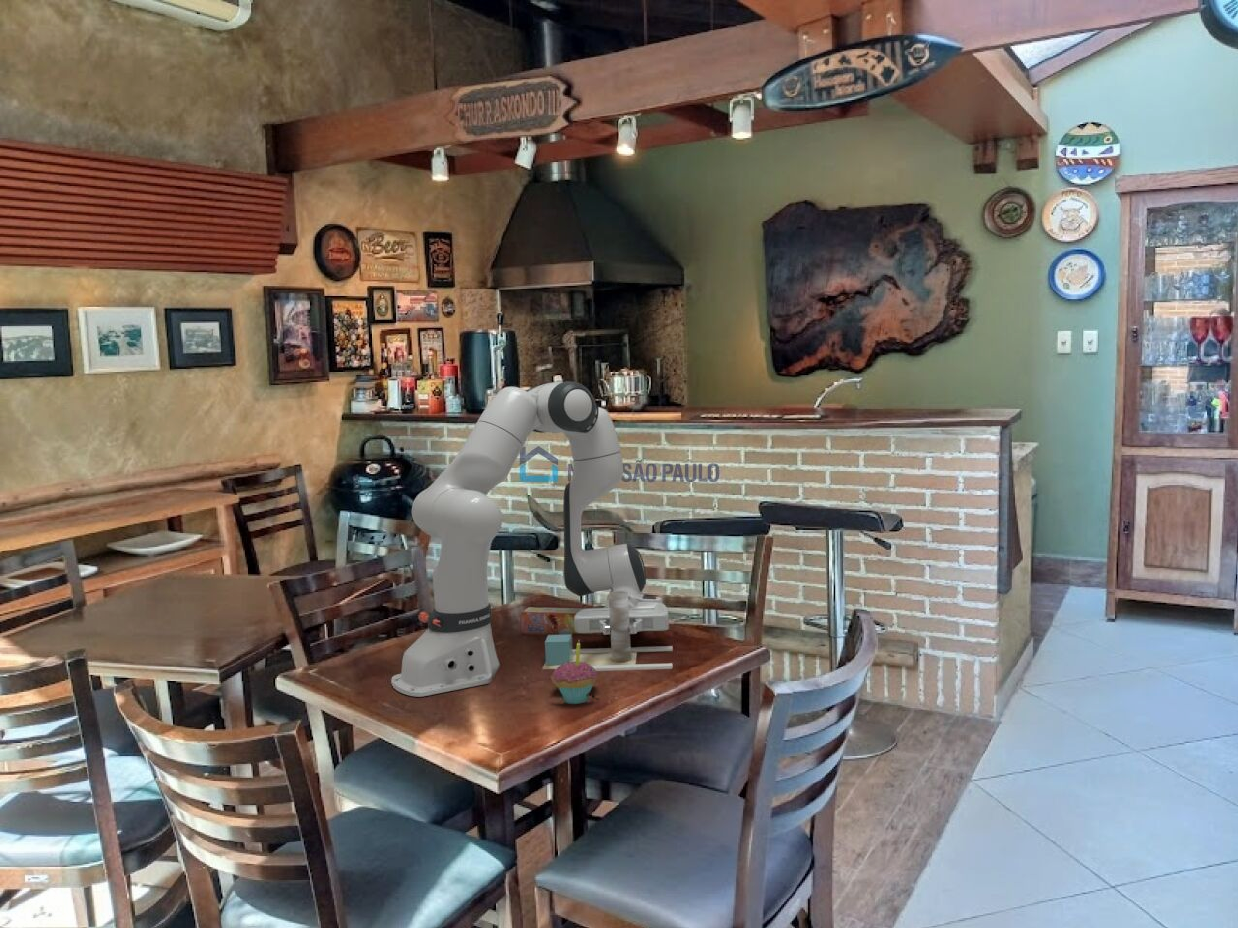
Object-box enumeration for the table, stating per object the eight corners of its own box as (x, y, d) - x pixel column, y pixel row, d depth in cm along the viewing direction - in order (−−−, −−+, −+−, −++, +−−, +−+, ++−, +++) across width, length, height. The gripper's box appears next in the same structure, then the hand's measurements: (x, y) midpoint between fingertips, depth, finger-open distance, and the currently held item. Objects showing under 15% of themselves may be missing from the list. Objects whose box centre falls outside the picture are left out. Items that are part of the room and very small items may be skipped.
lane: (673, 655, 195) (672, 645, 195) (672, 675, 182) (672, 665, 182) (566, 658, 196) (566, 649, 196) (558, 678, 184) (558, 669, 183)
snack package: (519, 637, 215) (517, 609, 214) (531, 629, 221) (529, 602, 221) (602, 642, 207) (600, 613, 207) (612, 634, 214) (611, 605, 213)
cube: (573, 657, 192) (571, 634, 192) (570, 664, 187) (568, 641, 187) (549, 657, 192) (548, 635, 192) (546, 665, 188) (544, 642, 187)
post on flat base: (637, 657, 193) (633, 587, 192) (635, 671, 184) (631, 598, 183) (548, 660, 195) (544, 591, 193) (542, 674, 186) (538, 602, 184)
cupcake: (607, 697, 172) (604, 636, 170) (574, 711, 166) (570, 647, 164) (576, 688, 178) (573, 628, 176) (543, 701, 172) (539, 639, 170)
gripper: (576, 600, 201) (568, 617, 188) (668, 596, 200) (667, 613, 186) (577, 627, 202) (570, 646, 188) (669, 624, 201) (669, 643, 187)
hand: (619, 630), depth 187 cm, fingers closed on post on flat base, 4 cm apart
